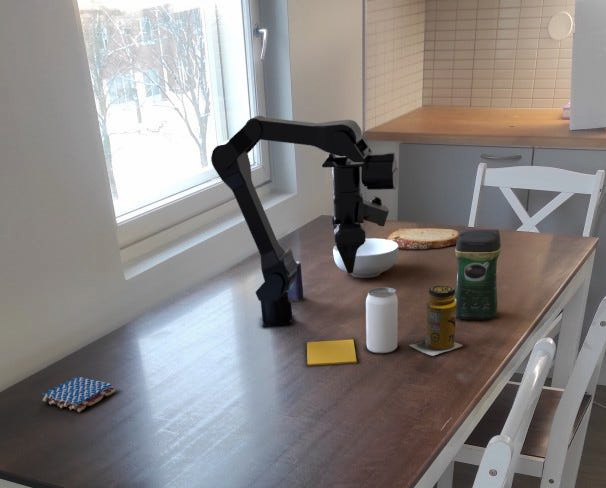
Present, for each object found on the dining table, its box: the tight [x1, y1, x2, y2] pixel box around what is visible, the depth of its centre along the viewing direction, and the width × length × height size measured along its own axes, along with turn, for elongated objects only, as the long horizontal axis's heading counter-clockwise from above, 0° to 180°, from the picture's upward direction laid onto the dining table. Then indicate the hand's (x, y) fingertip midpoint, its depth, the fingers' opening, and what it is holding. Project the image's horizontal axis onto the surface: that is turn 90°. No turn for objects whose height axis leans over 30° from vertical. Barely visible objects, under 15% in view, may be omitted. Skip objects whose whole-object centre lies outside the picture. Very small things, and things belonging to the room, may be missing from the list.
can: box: [365, 286, 399, 355], centre depth 166 cm, size 6×6×12 cm
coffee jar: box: [455, 228, 502, 321], centre depth 177 cm, size 10×8×19 cm
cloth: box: [306, 339, 358, 367], centre depth 169 cm, size 10×12×1 cm
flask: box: [286, 260, 304, 302], centre depth 197 cm, size 9×3×11 cm, turn 71°
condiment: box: [409, 284, 464, 357], centre depth 165 cm, size 7×8×12 cm
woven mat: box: [41, 376, 116, 413], centre depth 158 cm, size 10×11×2 cm
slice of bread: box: [386, 227, 460, 251], centre depth 231 cm, size 18×18×4 cm
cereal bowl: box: [332, 238, 399, 279], centre depth 210 cm, size 17×17×7 cm
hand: (349, 266), depth 175 cm, fingers open, 9 cm apart
